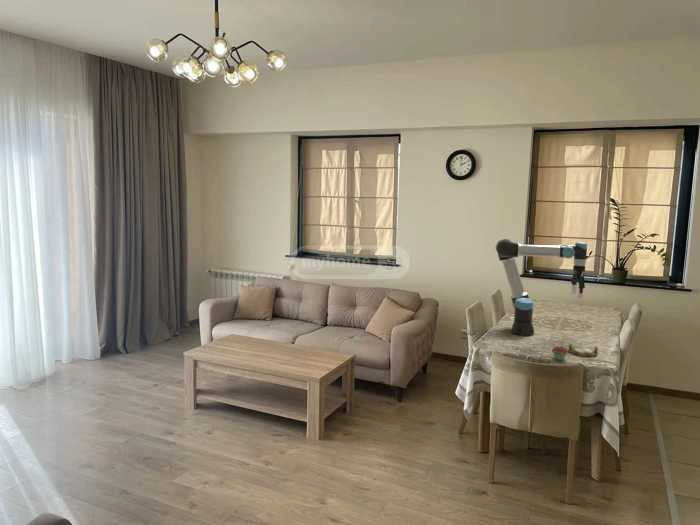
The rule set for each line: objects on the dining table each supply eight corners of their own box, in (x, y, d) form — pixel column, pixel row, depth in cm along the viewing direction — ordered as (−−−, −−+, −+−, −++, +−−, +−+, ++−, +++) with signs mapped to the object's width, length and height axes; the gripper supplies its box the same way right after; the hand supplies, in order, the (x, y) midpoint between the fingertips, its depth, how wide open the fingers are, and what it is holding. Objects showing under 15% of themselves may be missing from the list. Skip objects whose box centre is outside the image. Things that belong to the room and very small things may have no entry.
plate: (577, 357, 304) (578, 350, 303) (562, 349, 320) (563, 342, 319) (603, 356, 306) (603, 349, 306) (587, 348, 322) (587, 341, 321)
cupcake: (559, 355, 307) (560, 335, 305) (570, 360, 299) (572, 339, 298) (548, 357, 303) (549, 337, 302) (559, 361, 296) (560, 341, 294)
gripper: (591, 267, 343) (588, 299, 346) (579, 263, 367) (576, 292, 370) (579, 267, 344) (577, 299, 346) (568, 262, 368) (565, 292, 371)
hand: (576, 296), depth 358 cm, fingers open, 13 cm apart
